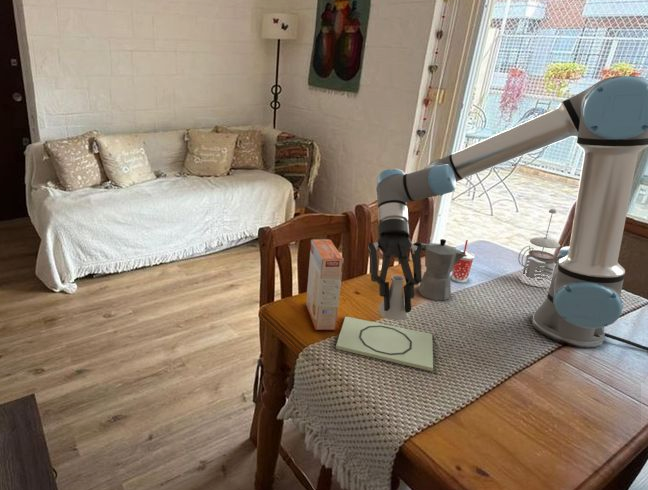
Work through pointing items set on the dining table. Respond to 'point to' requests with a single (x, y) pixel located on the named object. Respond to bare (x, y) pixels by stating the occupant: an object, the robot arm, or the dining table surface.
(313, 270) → the cracker box
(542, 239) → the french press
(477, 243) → the dining table surface
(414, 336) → the drawing board
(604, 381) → the dining table surface
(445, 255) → the coffeepot
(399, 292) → the flask
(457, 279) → the beverage cup
